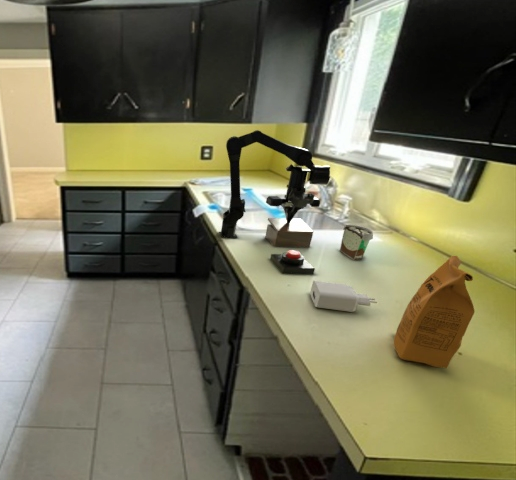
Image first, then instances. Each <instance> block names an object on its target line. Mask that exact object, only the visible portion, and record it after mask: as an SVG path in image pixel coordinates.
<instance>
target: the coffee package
mask: <svg viewBox="0 0 516 480" xmlns="http://www.w3.org/2000/svg"><path fill="white" fill-rule="evenodd" d="M461 263H462V260H461V259H460V258H459V257H458V256H457V255H451V256H450V257H449V258H448V259H447V260H446V261H445V262H443V263H442V264H441V265H440V266H439V267H438V268H437V269H436V270H435V271H433V273H431V274H430V275H429V276H428V277H427V278H425V280H424V282H422V283H421V285H420V286H419V288H418V289H417V291H416V292H415V294H414V295H413V296H412V298H411V299H410V301H409V302H408V304H407V305H406V308H405V310H404V313H403V314H402V317H401V319H400V322H399V323H398V326H397V328H396V332H395V334H394V336H393V346H394V350H395V351H396V353H397V356H398V357H399V358H400V359H402V360H404V361H409V362H414V363H415V362H416V363H423V364H426V365H428V366H432V367H435V368H443V369H447V368H448V367H449V365H450V362H451V361H452V359H453V357H454V356H455V355H456V353H457V352H459V349H460V348H461V346H462V343H463V337H464V336H465V334H466V332H467V329H468V327H469V325H470V323H471V320H472V319H473V317H474V315H475V307H474V303H473V301H472V299H471V296H470V293H469V291H468V288H467V285H466V281H467V282H472V281H473V280H474V278H473V277H474V276H473V275H472V274H470V273H469V272H467V271H466V270H463V269H461V268H459V267H460V266H461Z"/></svg>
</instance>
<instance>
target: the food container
mask: <svg viewBox="0 0 516 480" xmlns="http://www.w3.org/2000/svg"><path fill="white" fill-rule="evenodd" d="M373 239H374V233H373V230H371V229H370V228H367V227H365V226H364V227H363V226H359V225H355V224H354V225H353V224H345V225H344V227H343V234H342V238H341V243H340V248H339V252H341V253H342V254H344V255H345V256H347V257H348V258H350V259H351V260H353V261H359V260H362V259H363V257H364V255H365V253H366V250H367V247H368V245H369V243H370V241H371V240H373Z"/></svg>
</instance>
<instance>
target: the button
mask: <svg viewBox="0 0 516 480" xmlns="http://www.w3.org/2000/svg"><path fill="white" fill-rule="evenodd" d="M286 252H287V257H289V258H294V259H298V258H300V254H301V252H300V251H299V250H295V249H290V250H287V251H286ZM301 255H302V254H301Z"/></svg>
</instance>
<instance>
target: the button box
mask: <svg viewBox="0 0 516 480" xmlns="http://www.w3.org/2000/svg"><path fill="white" fill-rule="evenodd" d="M287 252H288V251H286V252H282V254H281V253H270V258H269V260H270V262H272V264H273V265H274V266H275V267H276V268H277V269H278V270H279V271H280V273H281V274H283V275H284V274H285V275H314V274H315V271H316V268H315V267H314V266H313V265H312V264H311V263H310V262H309V261H307V260H306V259H305V258H306V257H305V256H304V255H303V254H300V258H298V259H294V258H289V257H287Z"/></svg>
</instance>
